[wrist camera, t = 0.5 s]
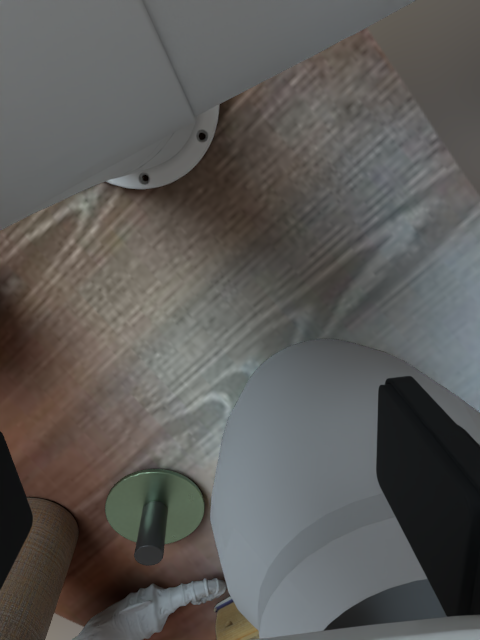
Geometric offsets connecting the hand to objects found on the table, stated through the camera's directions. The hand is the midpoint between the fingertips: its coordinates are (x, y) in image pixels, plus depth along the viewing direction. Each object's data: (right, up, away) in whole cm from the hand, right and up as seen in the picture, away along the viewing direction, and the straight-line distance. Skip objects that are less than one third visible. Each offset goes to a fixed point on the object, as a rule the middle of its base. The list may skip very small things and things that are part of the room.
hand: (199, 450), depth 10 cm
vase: (+8, -3, +31) cm, 32 cm away
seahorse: (0, -30, +41) cm, 51 cm away
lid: (-8, -18, +35) cm, 40 cm away
